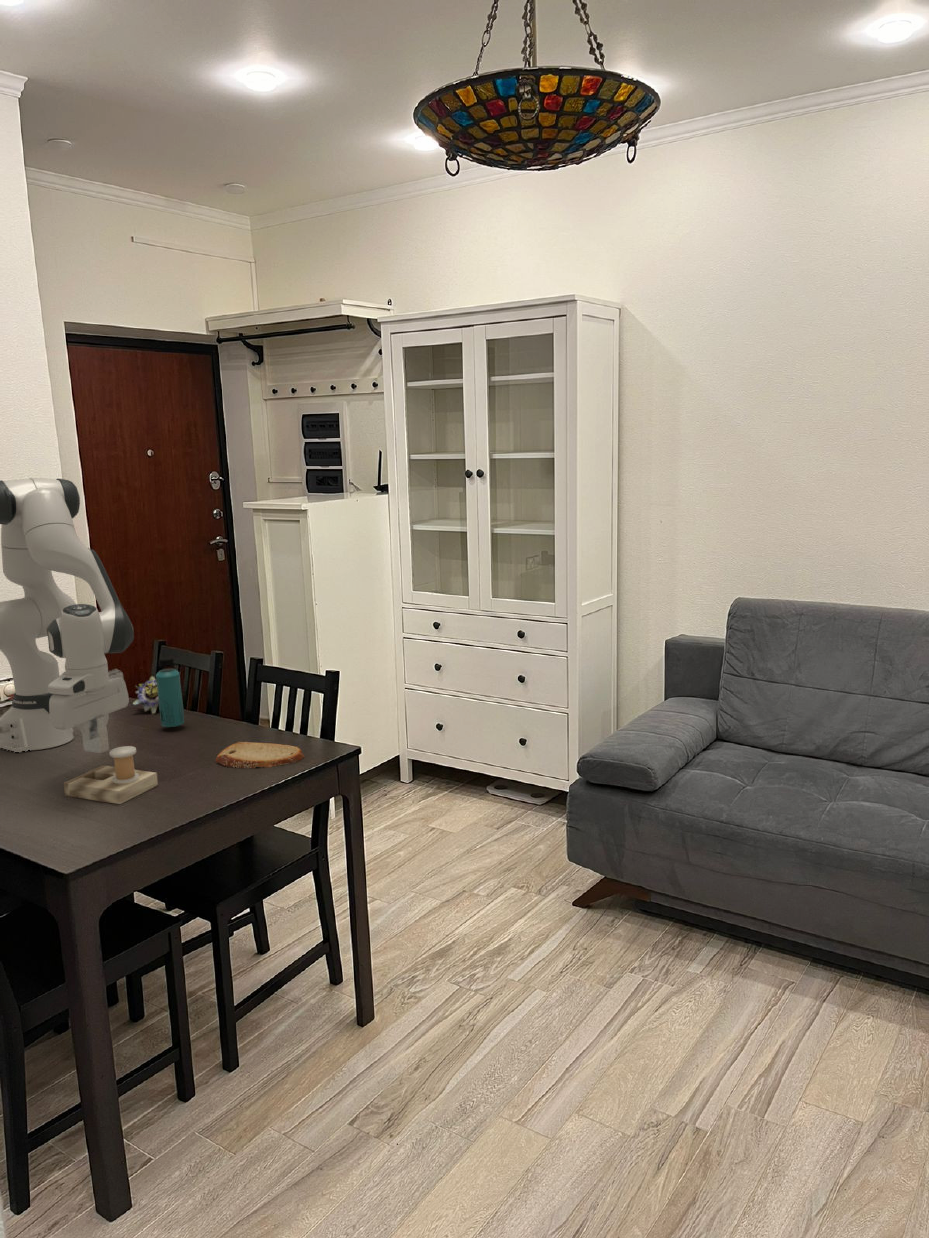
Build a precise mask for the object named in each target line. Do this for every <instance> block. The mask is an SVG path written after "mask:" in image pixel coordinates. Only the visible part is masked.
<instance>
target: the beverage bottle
mask: <svg viewBox="0 0 929 1238" xmlns="http://www.w3.org/2000/svg"><path fill="white" fill-rule="evenodd" d="M174 666H175V660H174V657H172V656H171V657H170V656H166V657H161V658H159V659H158V667H159V668H162V669H161V670H159V671H158V672H157V673H156V674H155V680H156V683H157V689H158V700H159V702H158V703H159V706H158V707H159V708H158V714H159V719H160V720H159V721H160V725H161V726H162V727H164V728H171V727H172V728H173V727H179V726H182V725H183V724H185V719H186V717H185V712H184V711H185V709H184V704H183V703H184V701H183V699H184V698H183V693H182V685H181V677H180V676H181V675H180V674H181V673H180V672H179V671H178V670H177V669H175V668H170V667H174Z"/></svg>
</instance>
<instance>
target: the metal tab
mask: <svg viewBox="0 0 929 1238" xmlns="http://www.w3.org/2000/svg"><path fill="white" fill-rule="evenodd" d="M107 727H108V726H107V725H106V717H105V715H102V716H99V717H96V718H94V719H93V720H90V721H88V726H87V728H88V730H89V731H93V739H91V740H88V741H85V740H83V737H81V738H82V744H83V745H82V746H83V751H84V752H89V753H96V754H97V753H98V754H101V753H102V754H103V753H104V752H107V751H110V746H109V744H110V743H109V737H108V728H107Z"/></svg>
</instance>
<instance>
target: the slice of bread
mask: <svg viewBox="0 0 929 1238" xmlns="http://www.w3.org/2000/svg"><path fill="white" fill-rule="evenodd" d="M303 757H304V758H305V755H304V753H303V751H302V749H300V748H299V747H298V746H293V745H290V744H281V743H270V742H269V743H268V742H265V743H264V742H249V741H238V742H235V743H232V744H231V745H229V746H227V747H226V748H224V749H223V750H221V751H220V752H219V753H218V754H217V756H216V758H215V761H214V762H215V764H218V763H219V764H220V765H222V766H224V767H227V768H231V767H233V768H232V769H249V768H252V769H256V768H255V767H268V768H273V767H272V766H277V765H282V764H285V763H292V762H295V761H298V760H300V761H302V760H303V759H302V758H303ZM301 759H302V760H301ZM298 762H299V761H298ZM295 763H296V762H295ZM292 764H293V763H292ZM235 767H236V768H235ZM277 767H278V766H277Z"/></svg>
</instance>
